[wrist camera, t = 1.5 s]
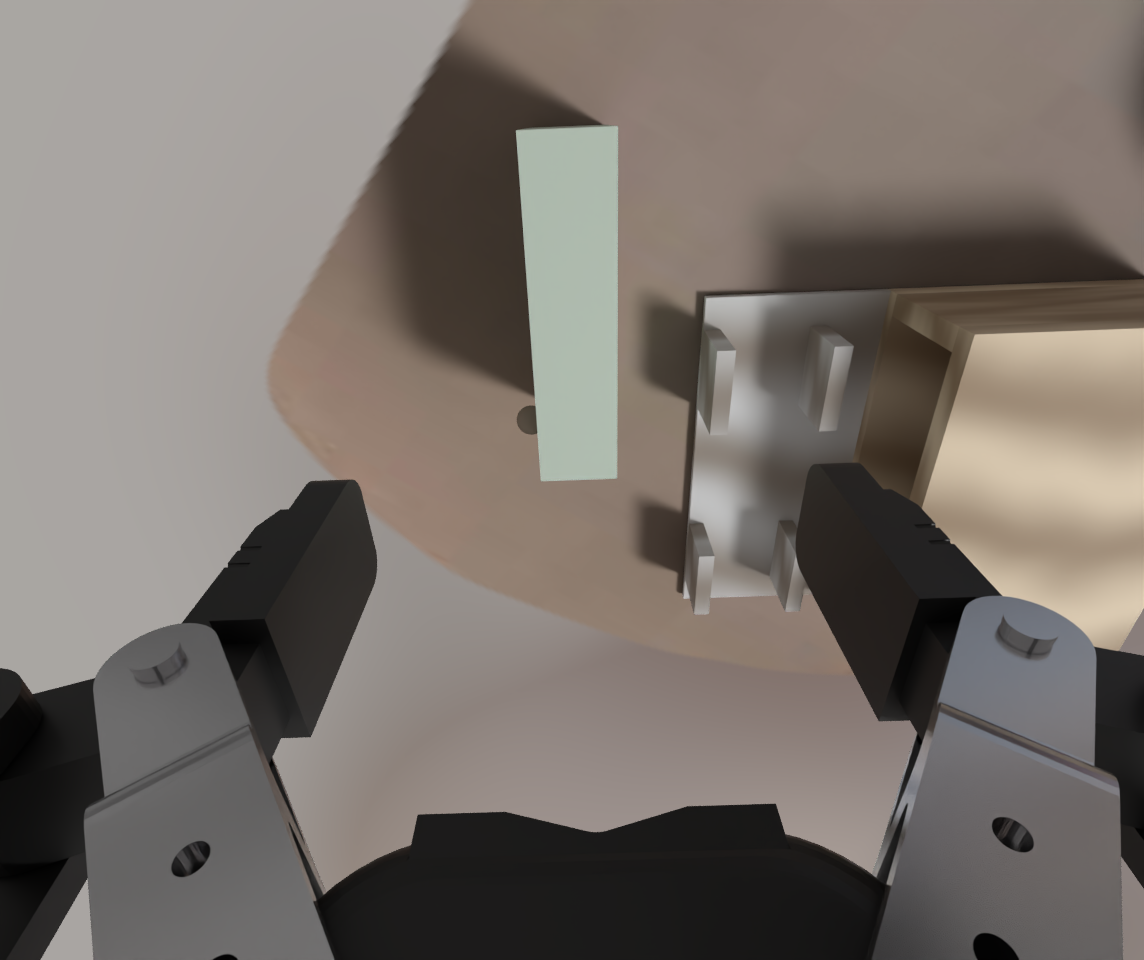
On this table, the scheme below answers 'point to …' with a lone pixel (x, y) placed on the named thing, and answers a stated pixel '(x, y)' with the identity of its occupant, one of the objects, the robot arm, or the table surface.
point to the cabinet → (931, 434)
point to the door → (572, 296)
